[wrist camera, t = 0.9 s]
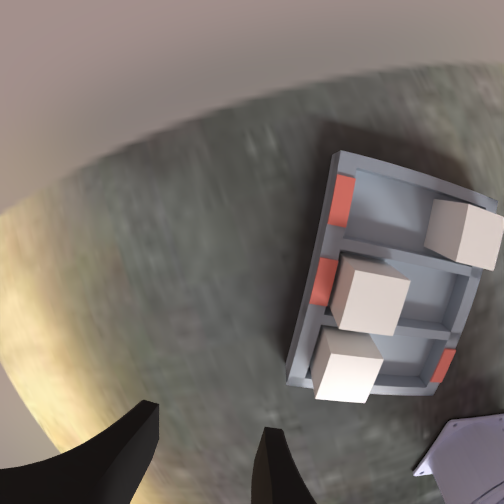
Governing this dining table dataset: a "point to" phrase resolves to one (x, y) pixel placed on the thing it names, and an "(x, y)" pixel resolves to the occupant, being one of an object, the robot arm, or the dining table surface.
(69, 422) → the dining table surface
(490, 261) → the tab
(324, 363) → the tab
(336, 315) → the tab mid
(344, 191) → the switch bank
